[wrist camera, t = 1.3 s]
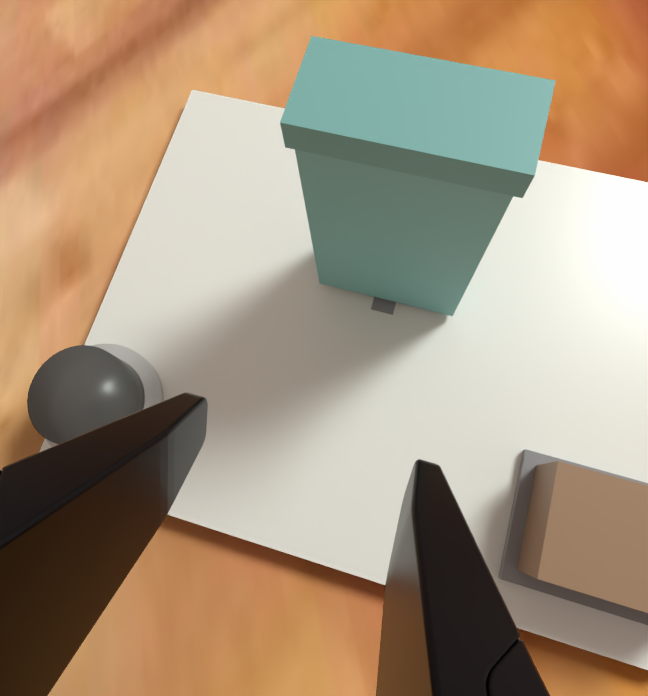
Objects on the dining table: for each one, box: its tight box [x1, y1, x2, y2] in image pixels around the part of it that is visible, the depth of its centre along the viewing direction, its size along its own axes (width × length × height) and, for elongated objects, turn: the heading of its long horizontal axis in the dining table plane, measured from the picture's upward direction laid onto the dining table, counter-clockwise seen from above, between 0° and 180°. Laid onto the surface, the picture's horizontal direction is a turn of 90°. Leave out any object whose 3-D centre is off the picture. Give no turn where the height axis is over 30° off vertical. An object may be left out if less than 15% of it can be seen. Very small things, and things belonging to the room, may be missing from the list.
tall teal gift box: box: [280, 36, 555, 316], centre depth 19 cm, size 3×6×11 cm, turn 74°
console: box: [27, 90, 648, 670], centre depth 22 cm, size 20×27×4 cm
